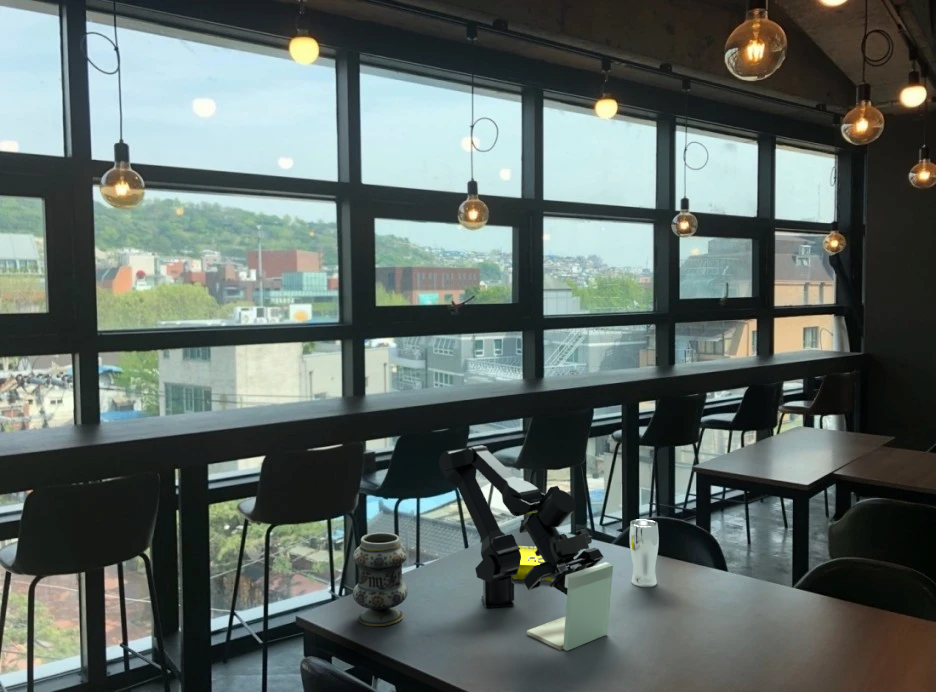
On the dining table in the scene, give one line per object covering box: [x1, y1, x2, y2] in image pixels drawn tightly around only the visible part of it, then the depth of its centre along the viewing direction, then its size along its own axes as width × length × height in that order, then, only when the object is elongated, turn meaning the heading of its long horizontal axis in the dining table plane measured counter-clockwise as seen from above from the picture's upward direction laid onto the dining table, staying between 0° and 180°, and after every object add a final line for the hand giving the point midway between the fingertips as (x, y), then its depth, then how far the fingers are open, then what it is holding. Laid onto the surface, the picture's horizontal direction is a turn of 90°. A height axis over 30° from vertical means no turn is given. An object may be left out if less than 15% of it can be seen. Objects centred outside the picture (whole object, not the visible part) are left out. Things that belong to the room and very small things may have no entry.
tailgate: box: [562, 561, 614, 652], centre depth 151 cm, size 2×12×15 cm, turn 128°
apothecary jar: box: [352, 532, 409, 627], centre depth 164 cm, size 12×12×18 cm
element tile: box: [511, 545, 552, 582], centre depth 195 cm, size 15×15×5 cm
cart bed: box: [526, 615, 566, 651], centre depth 156 cm, size 10×13×1 cm
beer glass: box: [629, 518, 660, 588], centre depth 184 cm, size 7×7×15 cm
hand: (585, 605), depth 151 cm, fingers closed, pressing on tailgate
